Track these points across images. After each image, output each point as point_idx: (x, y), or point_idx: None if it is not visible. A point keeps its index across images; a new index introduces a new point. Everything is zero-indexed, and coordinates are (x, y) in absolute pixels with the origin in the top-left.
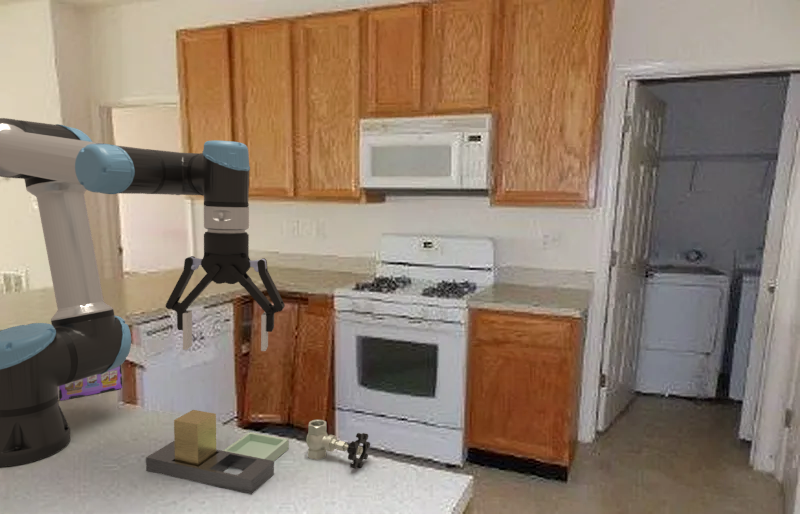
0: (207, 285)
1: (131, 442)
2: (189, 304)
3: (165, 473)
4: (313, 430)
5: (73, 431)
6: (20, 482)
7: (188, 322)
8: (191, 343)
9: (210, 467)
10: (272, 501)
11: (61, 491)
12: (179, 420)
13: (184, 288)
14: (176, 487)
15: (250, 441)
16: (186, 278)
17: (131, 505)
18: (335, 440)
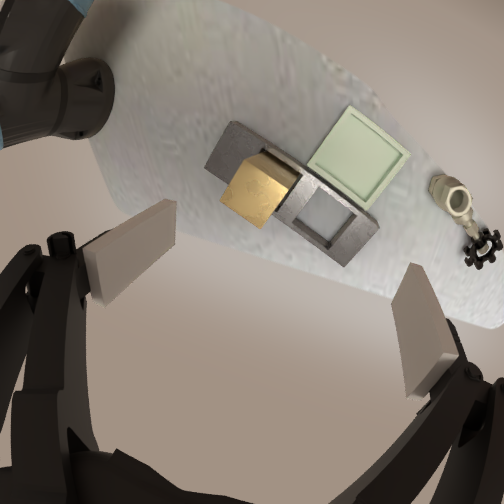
0: (69, 389)
1: (175, 81)
2: (81, 313)
3: None
4: (448, 210)
5: (111, 55)
6: (107, 168)
7: (125, 272)
8: (172, 209)
9: (292, 219)
10: (364, 279)
11: (144, 193)
12: (228, 205)
13: (8, 318)
14: None
15: (350, 117)
16: (6, 403)
17: (216, 239)
18: (467, 223)
